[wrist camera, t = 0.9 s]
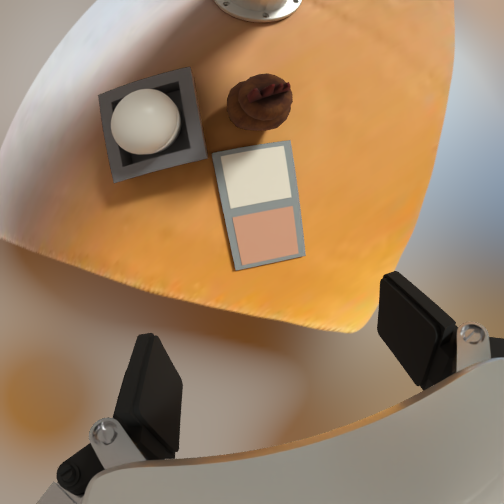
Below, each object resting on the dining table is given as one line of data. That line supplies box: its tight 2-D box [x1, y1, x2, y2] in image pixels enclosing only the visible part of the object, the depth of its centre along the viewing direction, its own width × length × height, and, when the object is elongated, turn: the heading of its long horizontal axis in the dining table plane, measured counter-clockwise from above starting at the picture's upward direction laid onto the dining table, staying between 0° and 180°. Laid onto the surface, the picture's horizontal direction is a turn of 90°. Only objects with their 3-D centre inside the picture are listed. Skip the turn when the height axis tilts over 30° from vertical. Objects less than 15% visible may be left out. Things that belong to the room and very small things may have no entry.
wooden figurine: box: [227, 74, 292, 131], centre depth 24 cm, size 7×6×15 cm
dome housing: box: [98, 67, 208, 183], centre depth 28 cm, size 11×11×5 cm
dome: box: [111, 89, 182, 154], centre depth 23 cm, size 7×7×7 cm
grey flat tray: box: [212, 140, 306, 270], centre depth 35 cm, size 16×10×1 cm, turn 10°
